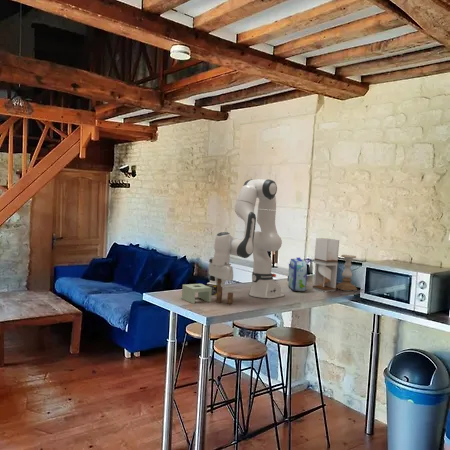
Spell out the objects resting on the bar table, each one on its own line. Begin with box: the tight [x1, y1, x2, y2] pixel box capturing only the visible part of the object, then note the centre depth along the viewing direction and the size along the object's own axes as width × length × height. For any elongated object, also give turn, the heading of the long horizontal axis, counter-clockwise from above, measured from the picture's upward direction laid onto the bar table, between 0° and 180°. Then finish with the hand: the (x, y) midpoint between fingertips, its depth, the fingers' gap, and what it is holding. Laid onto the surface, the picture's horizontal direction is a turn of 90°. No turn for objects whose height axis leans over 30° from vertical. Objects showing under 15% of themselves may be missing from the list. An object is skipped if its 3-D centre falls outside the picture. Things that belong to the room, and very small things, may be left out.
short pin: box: [226, 292, 234, 305], centre depth 247 cm, size 3×3×6 cm
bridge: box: [181, 283, 212, 305], centre depth 250 cm, size 12×12×8 cm
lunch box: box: [287, 257, 308, 292], centre depth 302 cm, size 26×11×21 cm, turn 178°
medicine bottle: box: [206, 275, 220, 297], centre depth 268 cm, size 7×7×12 cm
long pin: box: [215, 279, 224, 304], centre depth 248 cm, size 3×3×13 cm
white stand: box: [311, 237, 340, 293], centre depth 305 cm, size 11×11×35 cm
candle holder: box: [336, 254, 358, 291], centre depth 312 cm, size 11×11×24 cm
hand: (219, 286), depth 248 cm, fingers closed on long pin, 3 cm apart
